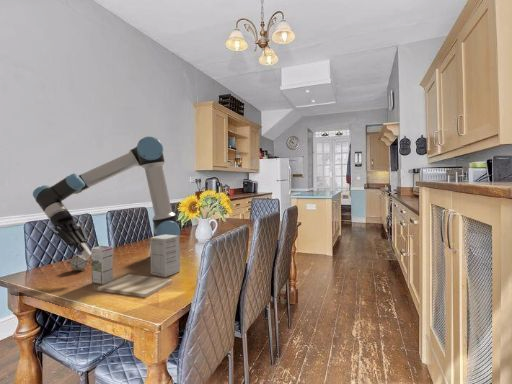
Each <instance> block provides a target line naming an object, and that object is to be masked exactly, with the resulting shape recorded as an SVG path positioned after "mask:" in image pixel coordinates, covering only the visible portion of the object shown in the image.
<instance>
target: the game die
mask: <svg viewBox="0 0 512 384" xmlns="http://www.w3.org/2000/svg"><path fill="white" fill-rule="evenodd" d="M66 263H67V264H69V266H70V268H71V273H73V272H74V271H83V272H85V271H86V270H85V269H86V267H87V266H88V264H89V263H91V261H89V258H88V259H86V258H85V257H84V256H83V254H82V253H81V254H80V253H79V254H75V253H73V256H72V257H71V259H70V260H69V261H67V262H66Z"/></svg>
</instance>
